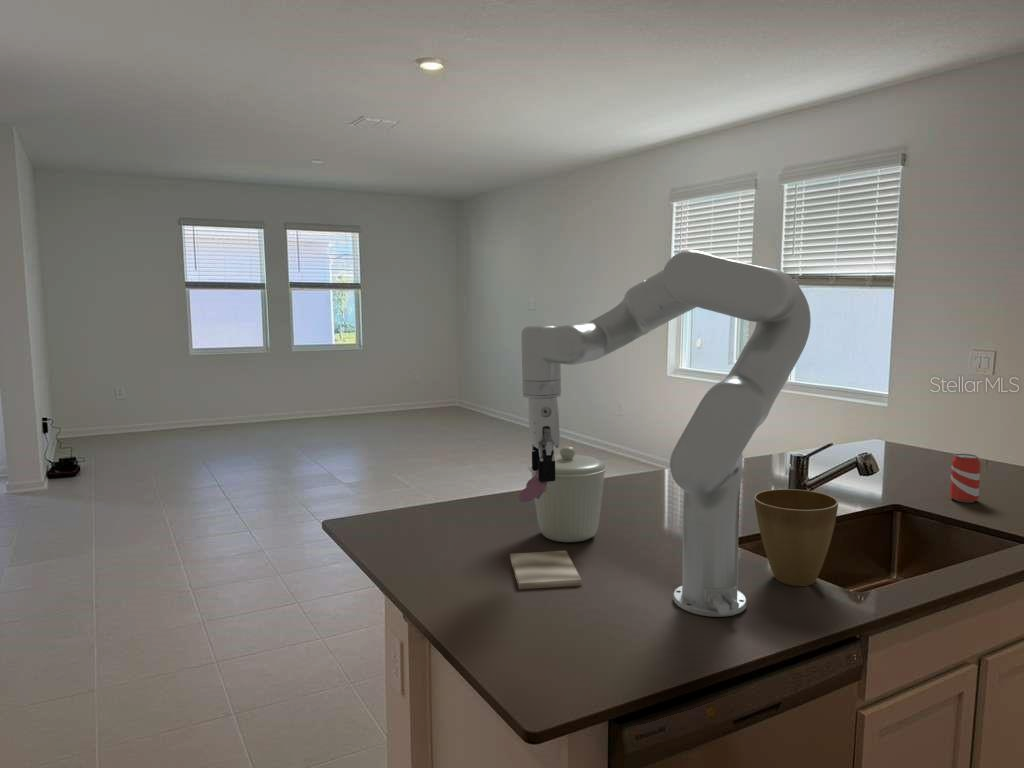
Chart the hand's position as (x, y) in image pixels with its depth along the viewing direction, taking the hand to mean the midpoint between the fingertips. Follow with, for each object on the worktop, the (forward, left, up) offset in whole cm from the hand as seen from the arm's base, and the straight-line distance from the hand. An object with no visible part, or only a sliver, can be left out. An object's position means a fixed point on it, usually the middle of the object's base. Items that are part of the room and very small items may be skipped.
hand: (543, 475), depth 140 cm
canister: (+21, -9, -20) cm, 31 cm away
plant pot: (-11, -47, -20) cm, 52 cm away
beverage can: (+32, -117, -20) cm, 123 cm away
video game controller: (0, +1, -5) cm, 5 cm away
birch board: (0, 0, -20) cm, 20 cm away
